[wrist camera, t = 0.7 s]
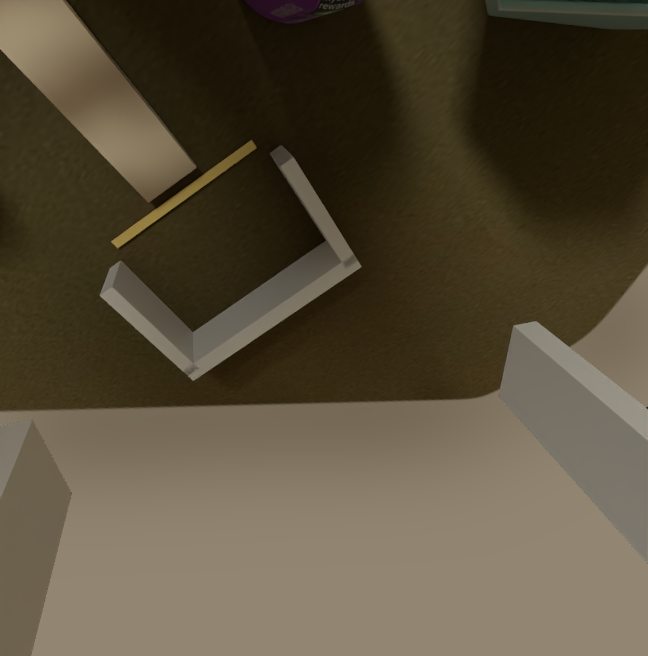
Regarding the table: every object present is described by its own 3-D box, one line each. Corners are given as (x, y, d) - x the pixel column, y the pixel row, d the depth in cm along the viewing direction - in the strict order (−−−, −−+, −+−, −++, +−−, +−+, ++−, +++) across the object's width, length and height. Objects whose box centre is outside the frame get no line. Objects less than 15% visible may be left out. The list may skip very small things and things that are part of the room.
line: (111, 241, 32) (111, 241, 32) (251, 139, 31) (251, 139, 31) (117, 247, 32) (117, 248, 32) (256, 147, 31) (256, 147, 31)
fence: (110, 267, 33) (99, 295, 29) (281, 144, 31) (293, 157, 28) (192, 348, 38) (193, 380, 34) (343, 244, 36) (361, 266, 33)
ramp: (-62, -45, 23) (-107, -63, 19) (-1, -95, 23) (-36, -123, 19) (149, 198, 31) (144, 216, 28) (196, 164, 31) (197, 178, 27)
